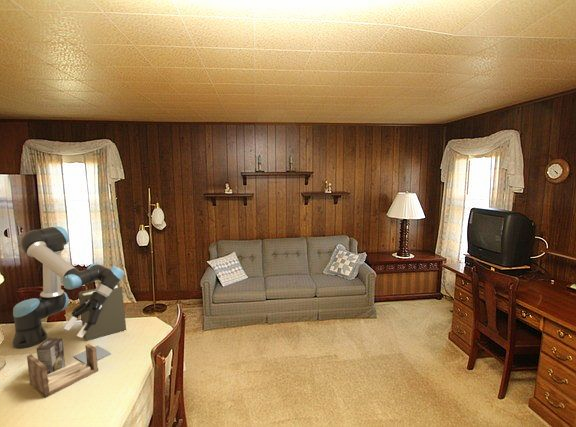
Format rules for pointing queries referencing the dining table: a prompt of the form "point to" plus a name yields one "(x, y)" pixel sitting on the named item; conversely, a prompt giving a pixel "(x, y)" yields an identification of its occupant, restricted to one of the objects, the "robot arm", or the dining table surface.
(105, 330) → the book
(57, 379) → the rack
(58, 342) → the coffee box
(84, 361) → the mat
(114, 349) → the dining table surface
